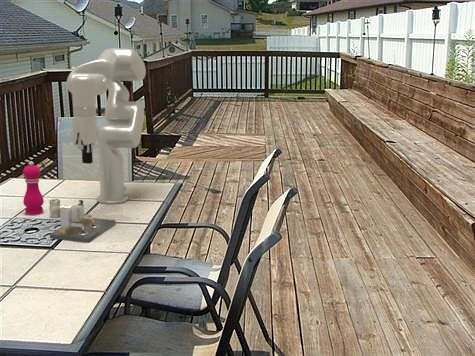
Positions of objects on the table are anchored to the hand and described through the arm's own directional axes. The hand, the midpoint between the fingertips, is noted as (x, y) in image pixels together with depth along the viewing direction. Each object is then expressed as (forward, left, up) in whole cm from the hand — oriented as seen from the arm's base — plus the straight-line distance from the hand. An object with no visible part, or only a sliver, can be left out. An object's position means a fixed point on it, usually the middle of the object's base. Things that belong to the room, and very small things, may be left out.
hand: (87, 162), depth 206 cm
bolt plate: (+11, +4, -22) cm, 25 cm away
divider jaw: (+10, +3, -20) cm, 22 cm away
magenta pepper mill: (-2, -24, -22) cm, 33 cm away
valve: (-1, -10, -22) cm, 24 cm away
